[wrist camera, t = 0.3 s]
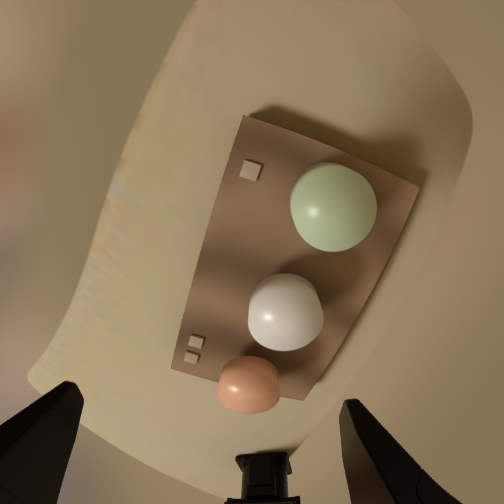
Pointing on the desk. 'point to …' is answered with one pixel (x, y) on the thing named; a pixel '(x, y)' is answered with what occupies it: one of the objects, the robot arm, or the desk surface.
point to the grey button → (284, 312)
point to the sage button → (332, 206)
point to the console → (280, 256)
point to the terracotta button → (249, 385)
